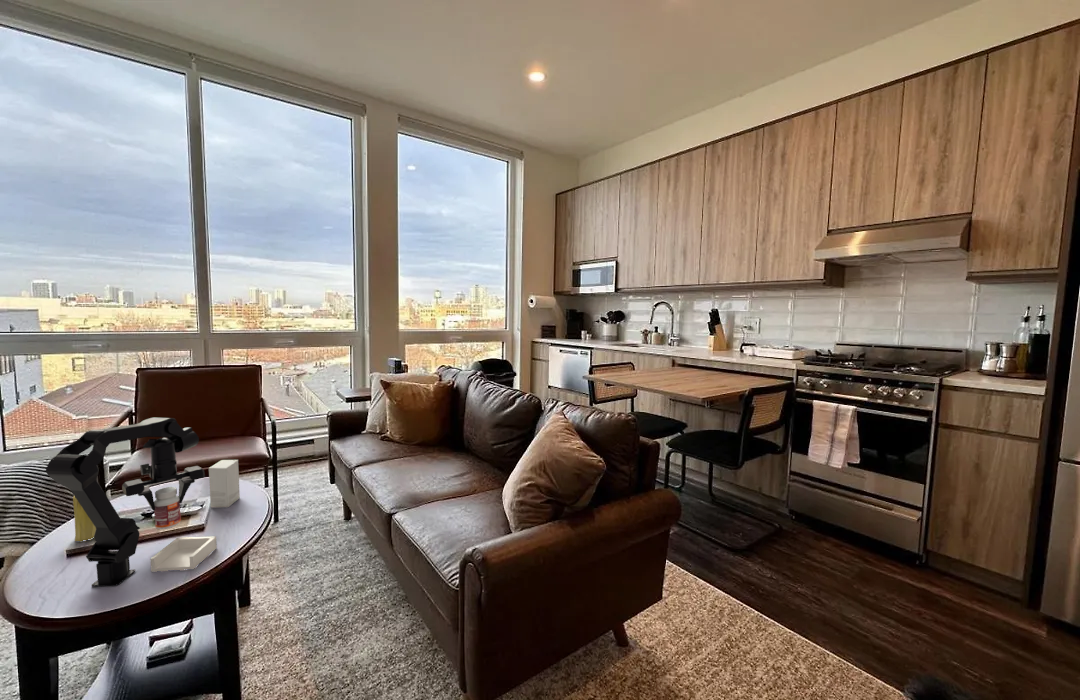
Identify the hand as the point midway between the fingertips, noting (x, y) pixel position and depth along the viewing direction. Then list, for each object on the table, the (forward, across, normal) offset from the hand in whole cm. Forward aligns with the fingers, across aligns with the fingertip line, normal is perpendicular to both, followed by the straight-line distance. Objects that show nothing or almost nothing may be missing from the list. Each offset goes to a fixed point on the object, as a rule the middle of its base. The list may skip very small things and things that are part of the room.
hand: (167, 506), depth 137 cm
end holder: (+13, -1, +13) cm, 18 cm away
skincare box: (+13, -21, -20) cm, 32 cm away
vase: (+13, +15, -25) cm, 32 cm away
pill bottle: (+6, 0, 0) cm, 6 cm away
